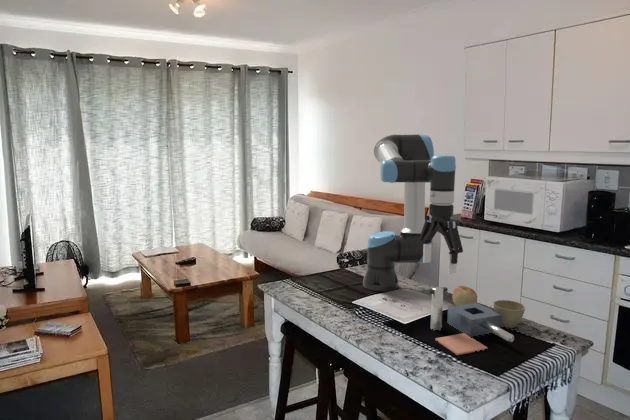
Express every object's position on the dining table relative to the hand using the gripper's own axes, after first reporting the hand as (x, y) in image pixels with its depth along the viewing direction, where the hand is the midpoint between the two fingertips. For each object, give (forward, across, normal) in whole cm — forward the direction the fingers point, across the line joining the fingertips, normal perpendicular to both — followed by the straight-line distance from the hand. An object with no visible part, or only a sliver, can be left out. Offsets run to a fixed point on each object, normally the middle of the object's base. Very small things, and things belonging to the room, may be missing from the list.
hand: (438, 267), depth 152 cm
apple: (+21, -12, +21) cm, 32 cm away
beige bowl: (+21, +6, +25) cm, 33 cm away
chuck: (+21, +9, +12) cm, 26 cm away
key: (+21, 0, 0) cm, 21 cm away
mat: (+21, +13, 0) cm, 25 cm away
